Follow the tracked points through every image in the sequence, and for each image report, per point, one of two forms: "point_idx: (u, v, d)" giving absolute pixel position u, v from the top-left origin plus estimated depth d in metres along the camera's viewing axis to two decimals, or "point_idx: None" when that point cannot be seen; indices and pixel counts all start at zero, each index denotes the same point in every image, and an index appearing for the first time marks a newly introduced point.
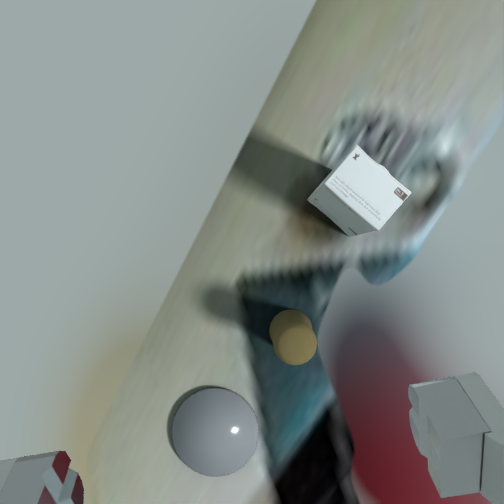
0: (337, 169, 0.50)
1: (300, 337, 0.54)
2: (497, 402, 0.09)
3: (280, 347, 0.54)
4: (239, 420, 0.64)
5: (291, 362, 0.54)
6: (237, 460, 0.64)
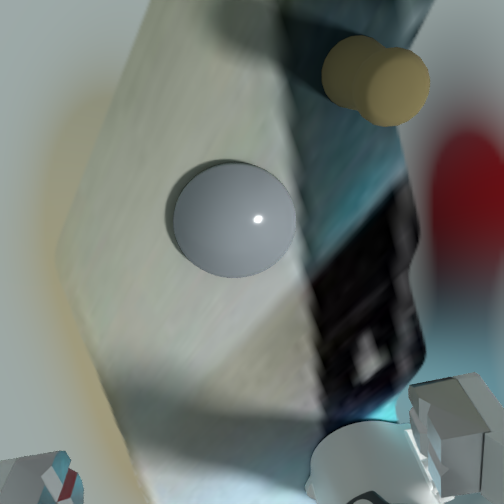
0: None
1: (409, 76, 0.30)
2: (497, 402, 0.09)
3: (371, 95, 0.31)
4: (270, 208, 0.45)
5: (385, 121, 0.32)
6: (265, 258, 0.47)
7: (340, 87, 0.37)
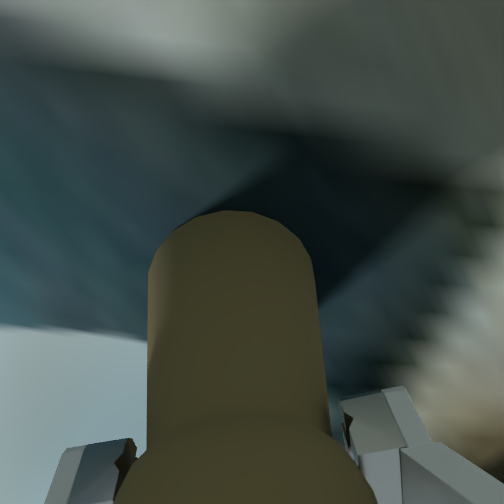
0: None
1: None
2: (417, 417, 0.09)
3: None
4: None
5: None
6: None
7: (258, 299, 0.12)
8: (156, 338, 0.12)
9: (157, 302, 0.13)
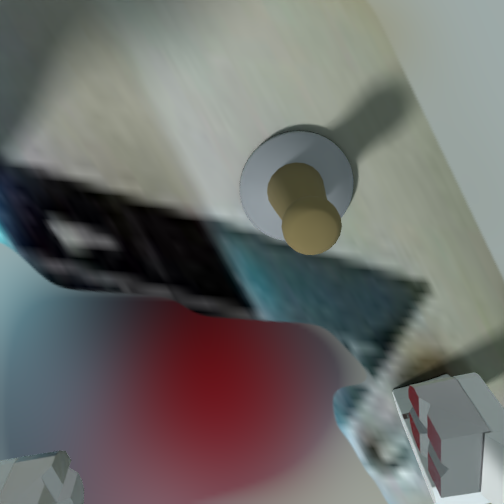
0: None
1: (320, 243, 0.40)
2: (497, 402, 0.09)
3: (322, 214, 0.39)
4: None
5: (296, 216, 0.39)
6: (251, 198, 0.49)
7: (310, 182, 0.44)
8: (281, 193, 0.44)
9: (278, 187, 0.45)
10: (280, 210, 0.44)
